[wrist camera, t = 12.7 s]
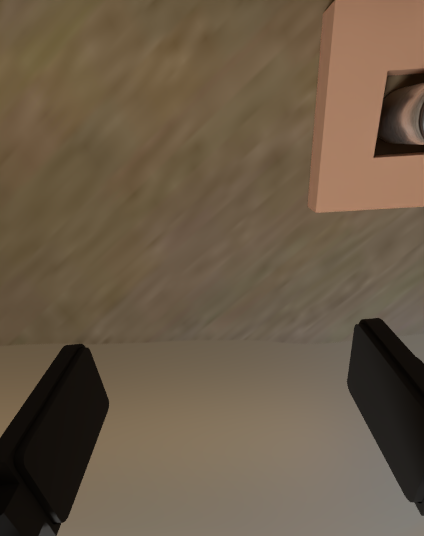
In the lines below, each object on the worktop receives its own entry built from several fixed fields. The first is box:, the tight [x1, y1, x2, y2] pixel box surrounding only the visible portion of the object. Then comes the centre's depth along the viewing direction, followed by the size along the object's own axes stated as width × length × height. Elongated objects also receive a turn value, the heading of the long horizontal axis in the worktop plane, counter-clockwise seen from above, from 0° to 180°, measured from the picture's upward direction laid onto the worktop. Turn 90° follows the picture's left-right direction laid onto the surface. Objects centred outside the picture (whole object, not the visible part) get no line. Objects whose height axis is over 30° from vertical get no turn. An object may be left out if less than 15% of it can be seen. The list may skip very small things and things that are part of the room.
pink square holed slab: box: [308, 0, 424, 213], centre depth 29 cm, size 18×18×3 cm
